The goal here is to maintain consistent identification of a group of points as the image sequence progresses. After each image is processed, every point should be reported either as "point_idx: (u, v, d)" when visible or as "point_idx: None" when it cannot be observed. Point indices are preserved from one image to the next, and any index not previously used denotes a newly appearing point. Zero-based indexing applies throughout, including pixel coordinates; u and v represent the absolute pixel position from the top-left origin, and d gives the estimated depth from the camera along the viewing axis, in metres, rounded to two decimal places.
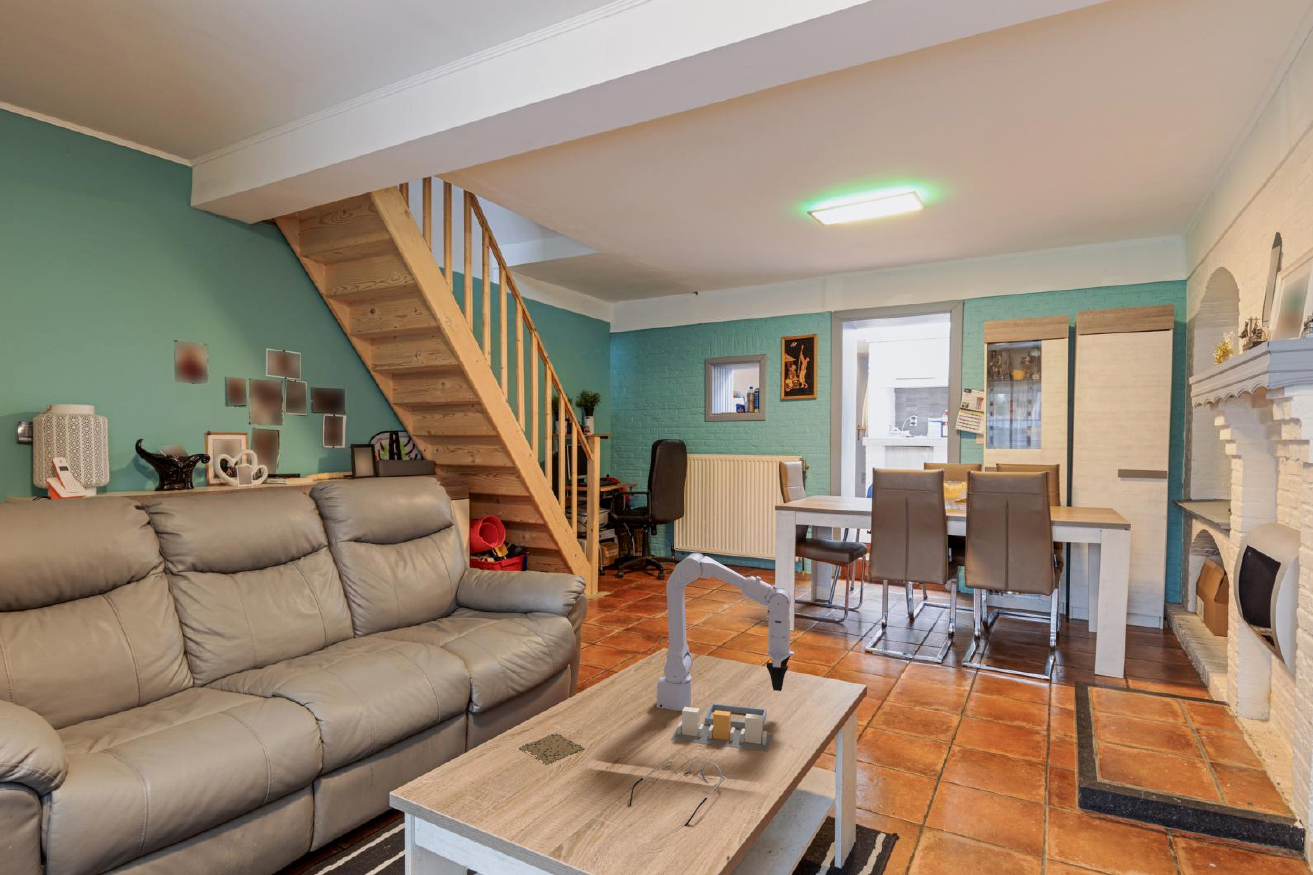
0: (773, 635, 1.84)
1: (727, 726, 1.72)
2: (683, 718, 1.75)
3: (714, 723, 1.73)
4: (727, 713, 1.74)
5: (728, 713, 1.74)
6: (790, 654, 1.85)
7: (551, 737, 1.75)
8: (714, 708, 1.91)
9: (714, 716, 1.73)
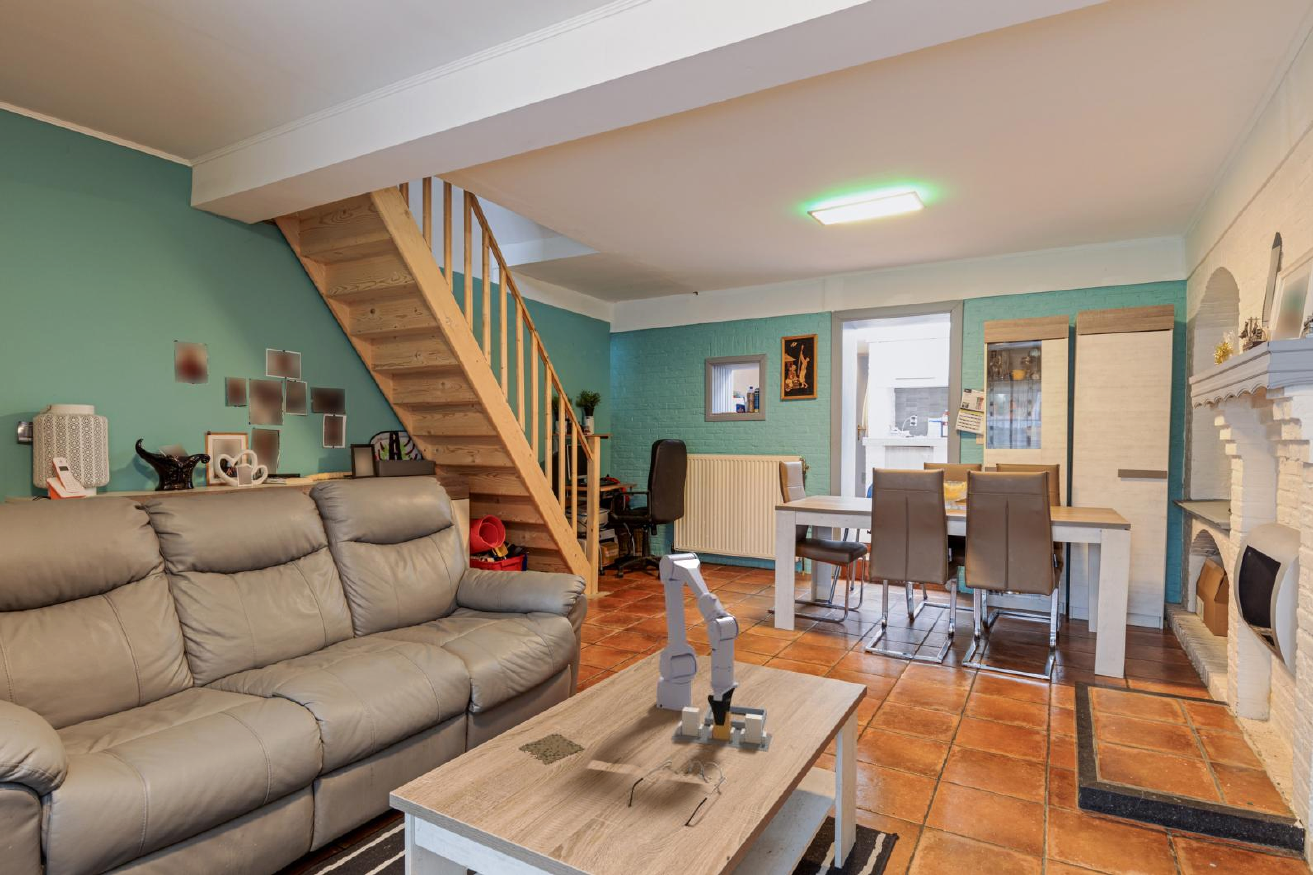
0: (711, 663, 1.74)
1: (727, 726, 1.72)
2: (683, 718, 1.75)
3: (714, 723, 1.73)
4: (727, 713, 1.74)
5: (728, 713, 1.74)
6: (734, 686, 1.72)
7: (551, 737, 1.75)
8: None
9: None
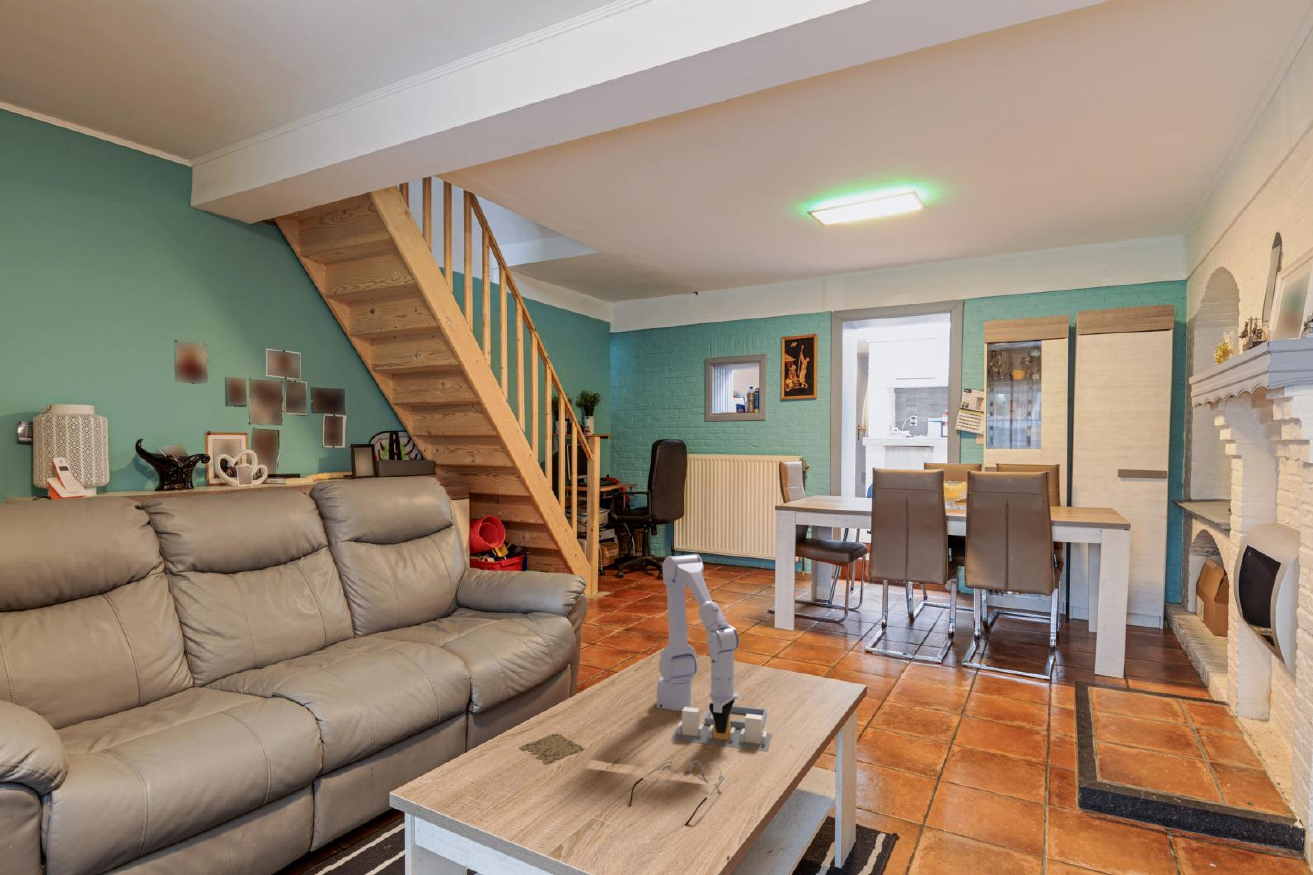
0: (711, 674, 1.74)
1: (727, 726, 1.72)
2: (683, 718, 1.75)
3: (714, 723, 1.73)
4: None
5: None
6: (734, 697, 1.72)
7: (551, 737, 1.75)
8: None
9: None
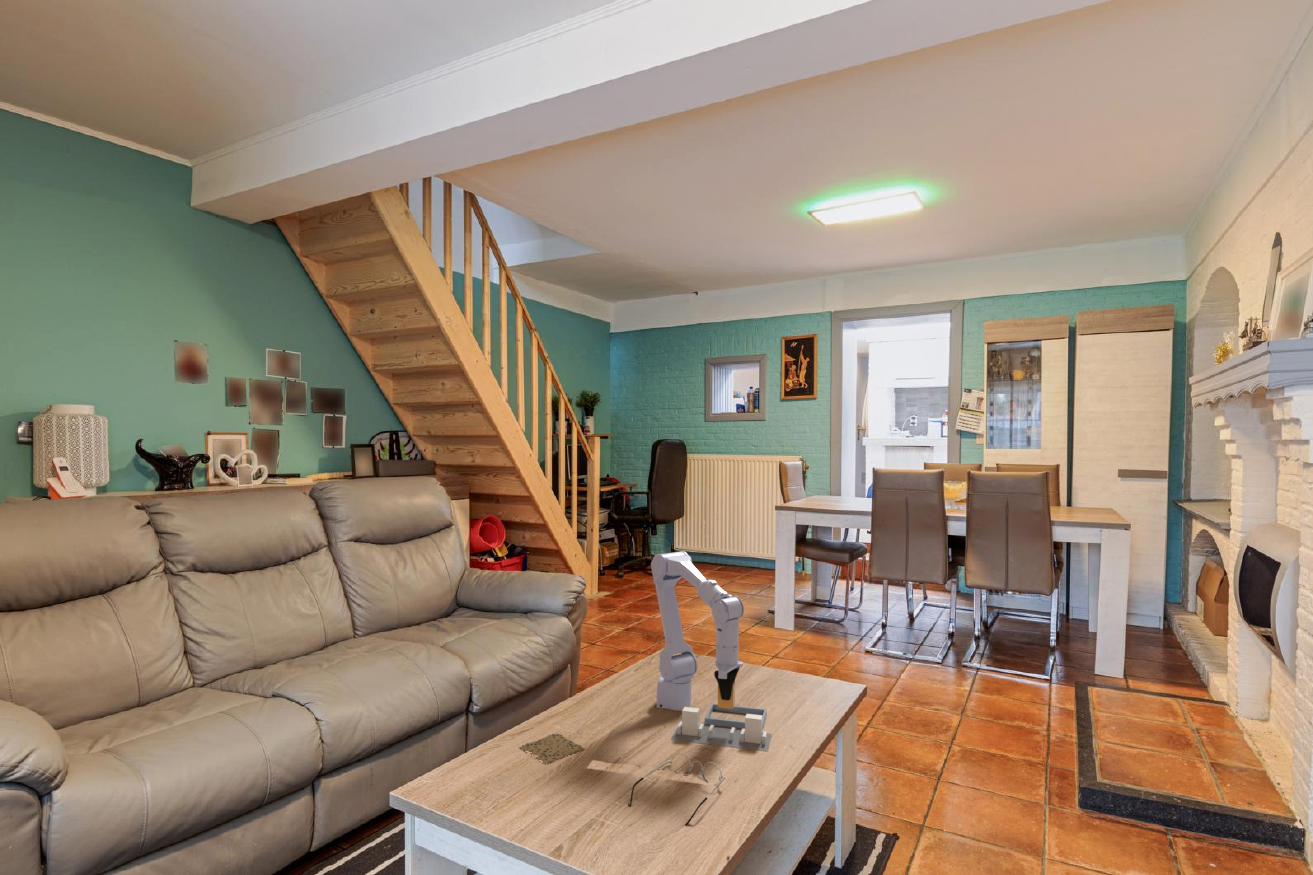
0: (716, 643, 1.77)
1: (731, 695, 1.76)
2: (683, 718, 1.75)
3: (718, 693, 1.77)
4: None
5: None
6: (738, 665, 1.76)
7: (552, 737, 1.75)
8: (714, 708, 1.91)
9: (718, 686, 1.77)
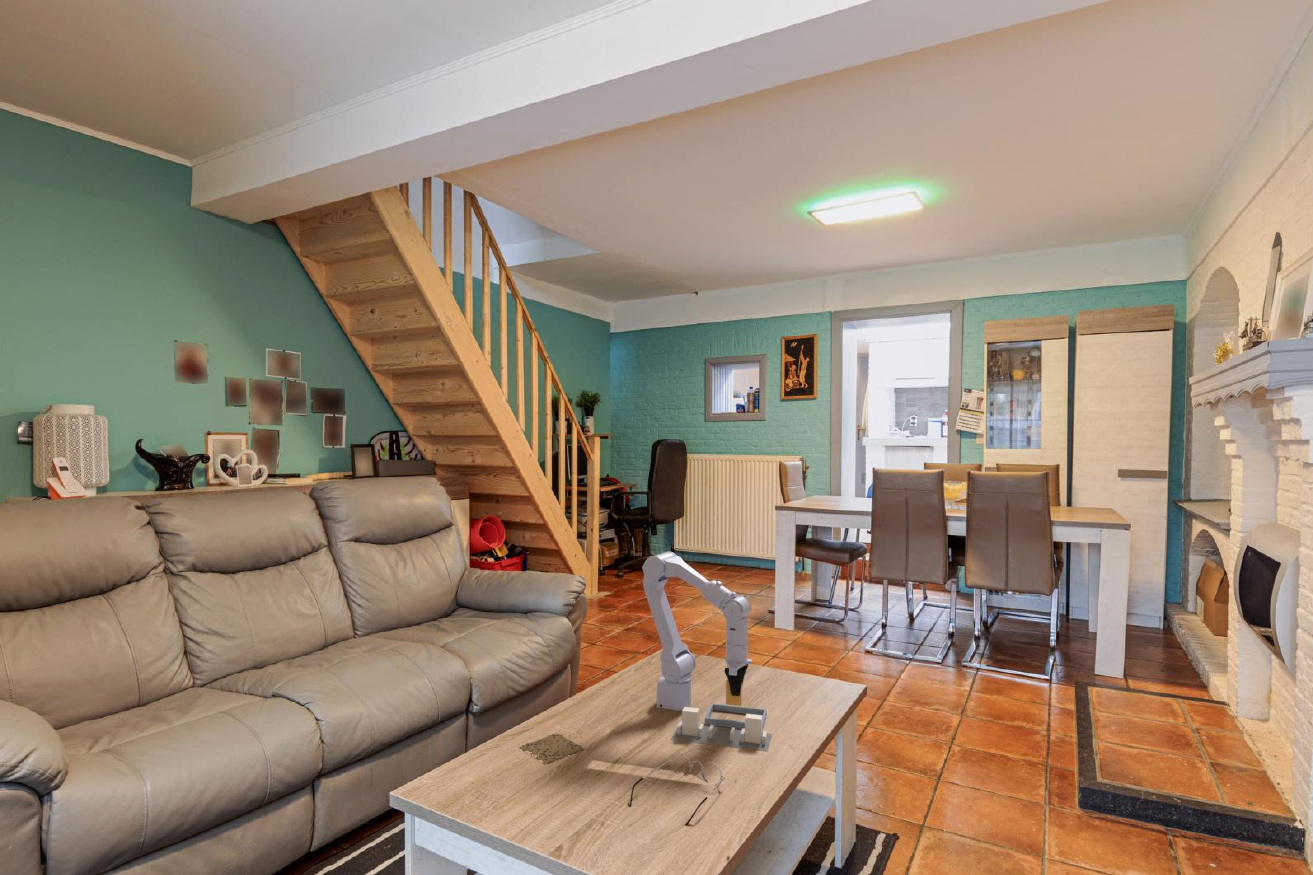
0: (728, 642, 1.83)
1: None
2: (683, 718, 1.75)
3: (727, 690, 1.84)
4: None
5: None
6: (748, 662, 1.83)
7: (552, 737, 1.75)
8: (714, 708, 1.91)
9: (727, 684, 1.84)
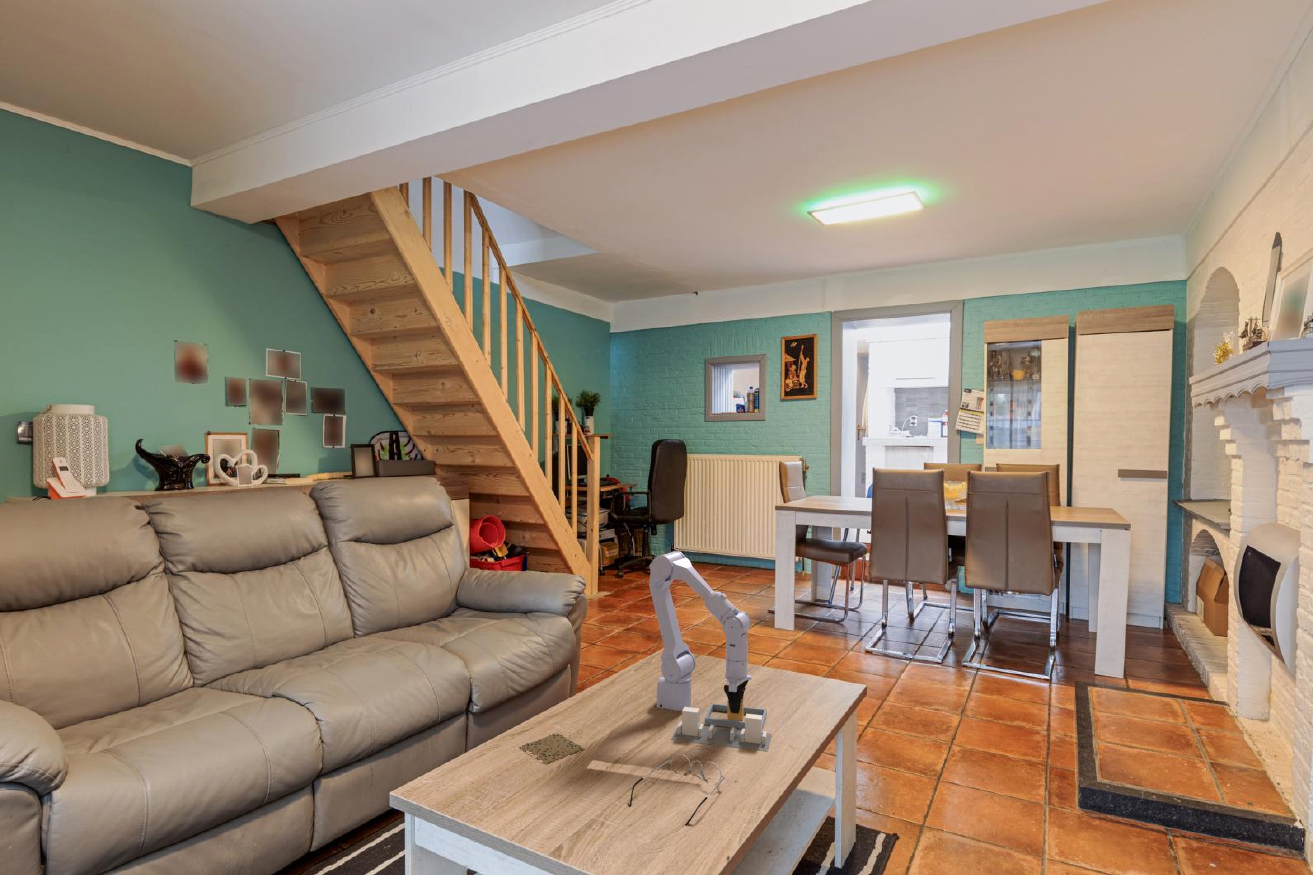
0: (728, 658, 1.83)
1: (740, 713, 1.83)
2: (683, 718, 1.75)
3: (728, 710, 1.84)
4: None
5: (741, 700, 1.85)
6: (747, 678, 1.83)
7: (552, 737, 1.75)
8: (714, 708, 1.91)
9: (728, 703, 1.84)
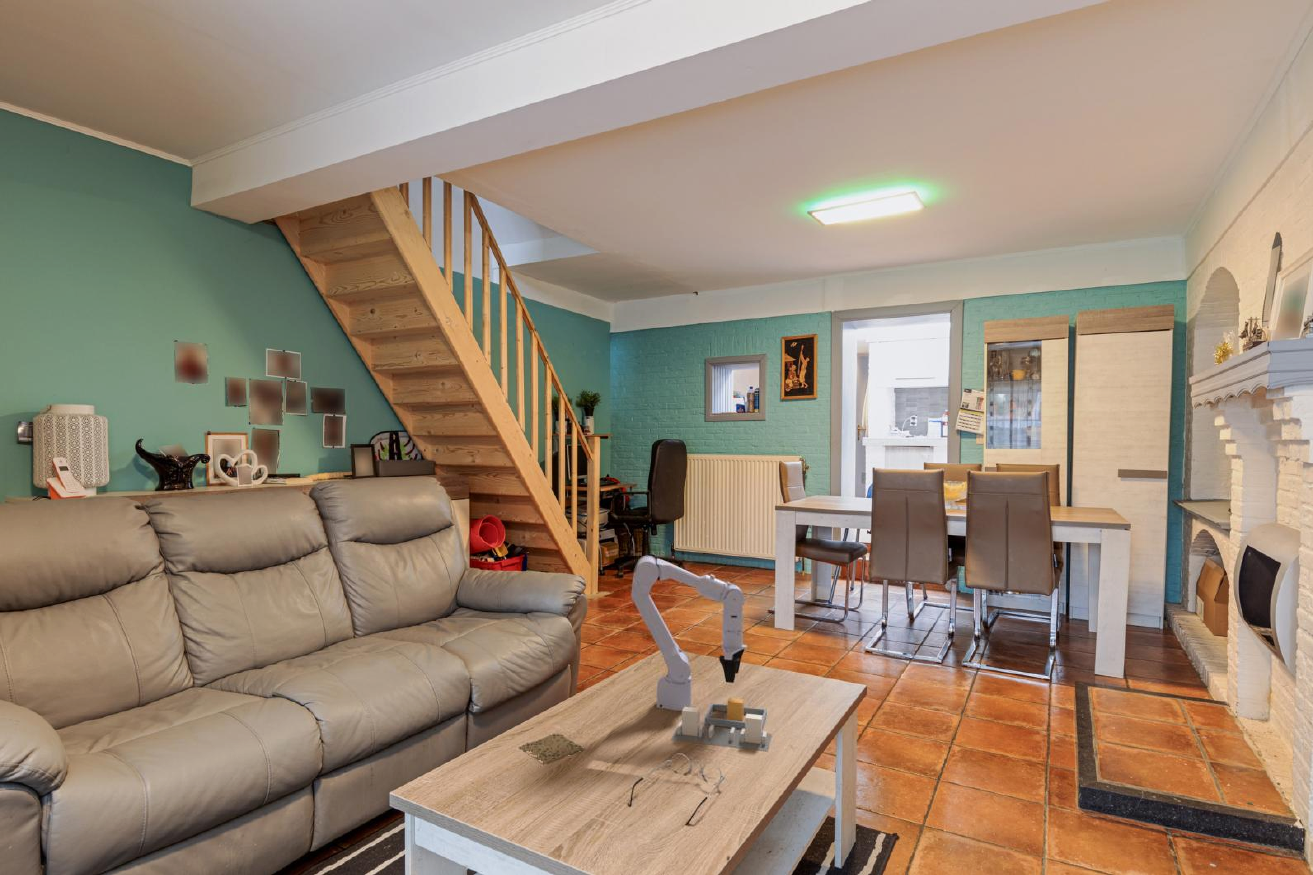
0: (729, 630, 1.91)
1: (740, 713, 1.83)
2: (683, 718, 1.75)
3: (728, 710, 1.84)
4: (740, 700, 1.85)
5: (741, 700, 1.85)
6: (743, 647, 1.92)
7: (552, 737, 1.75)
8: (714, 708, 1.91)
9: (728, 703, 1.84)
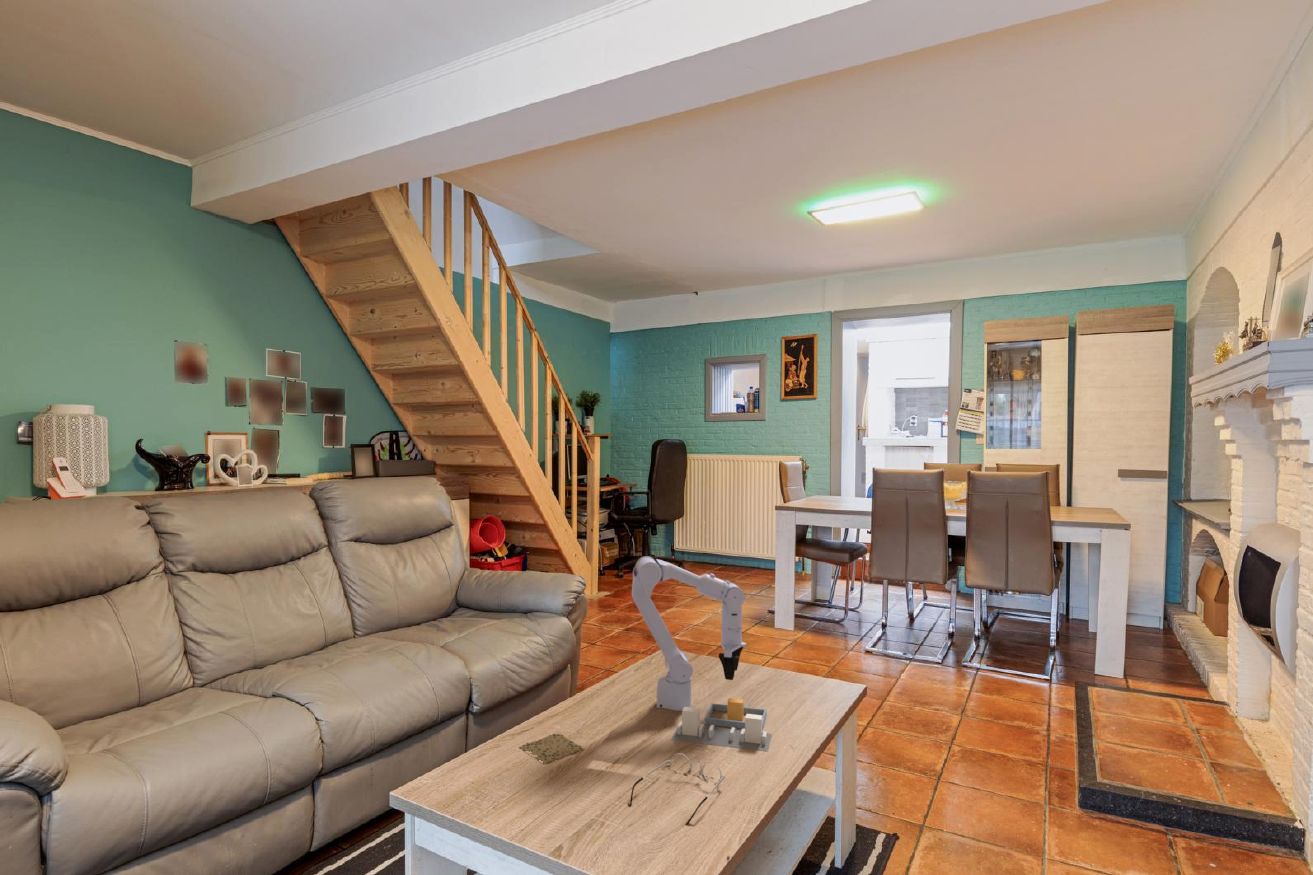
0: (729, 627, 1.93)
1: (740, 713, 1.83)
2: (683, 718, 1.75)
3: (728, 710, 1.84)
4: (740, 700, 1.85)
5: (741, 700, 1.85)
6: (742, 645, 1.94)
7: (552, 737, 1.75)
8: (714, 708, 1.91)
9: (728, 703, 1.84)
